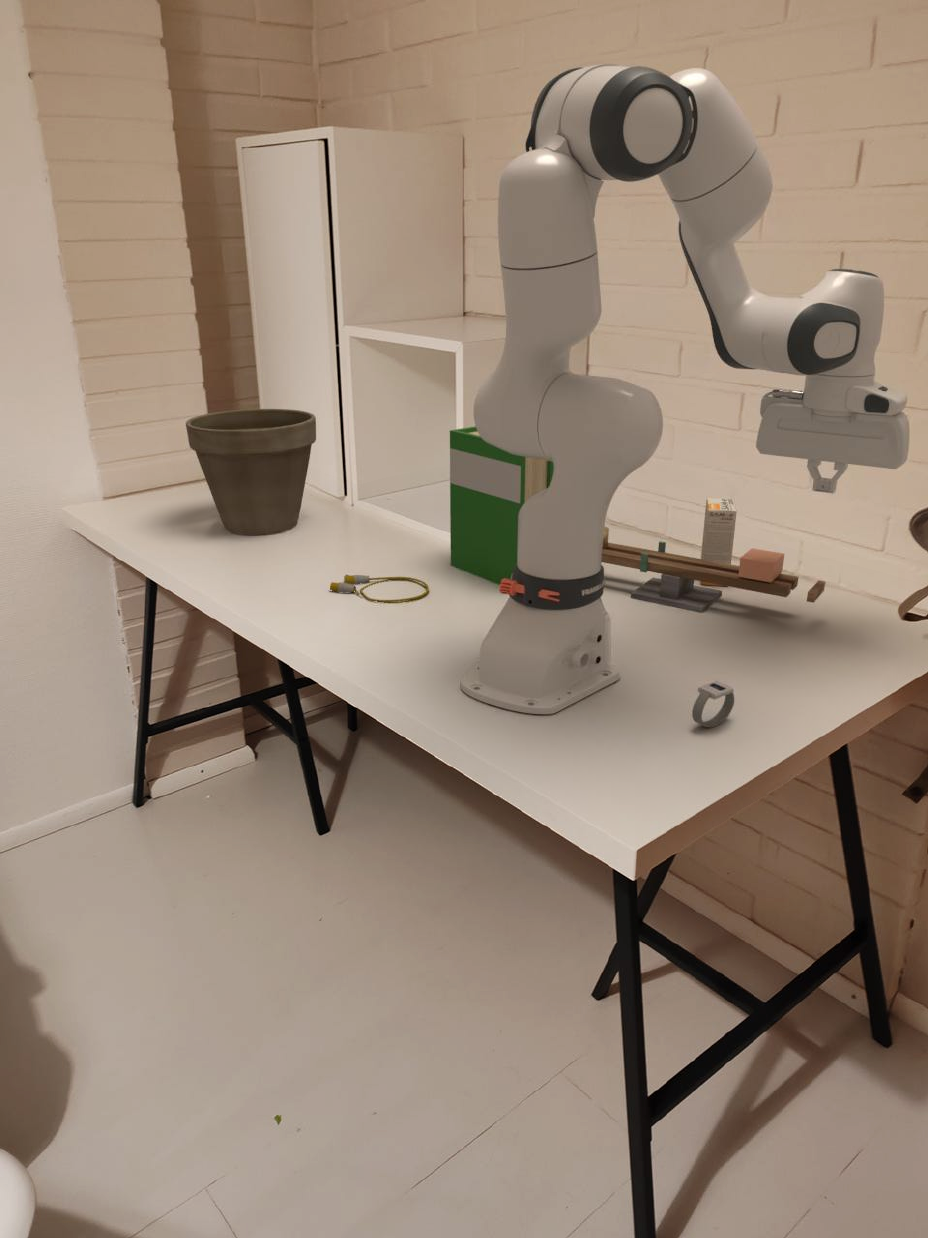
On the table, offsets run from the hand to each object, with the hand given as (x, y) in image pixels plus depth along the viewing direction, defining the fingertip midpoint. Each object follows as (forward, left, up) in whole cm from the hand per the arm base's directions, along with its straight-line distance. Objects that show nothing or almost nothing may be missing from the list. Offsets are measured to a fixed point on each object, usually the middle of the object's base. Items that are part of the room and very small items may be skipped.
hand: (823, 491), depth 138 cm
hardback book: (-6, +51, -21) cm, 55 cm away
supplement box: (+12, +19, -21) cm, 30 cm away
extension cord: (-23, +63, -21) cm, 70 cm away
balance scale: (0, +21, -20) cm, 29 cm away
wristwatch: (-39, +1, -21) cm, 44 cm away
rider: (0, +8, -16) cm, 17 cm away
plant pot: (-7, +107, -21) cm, 109 cm away
